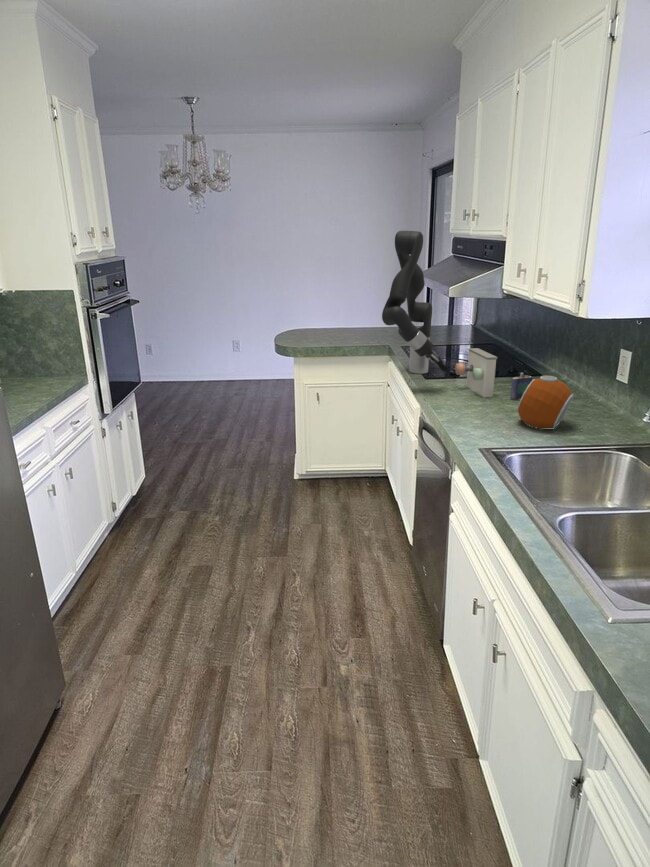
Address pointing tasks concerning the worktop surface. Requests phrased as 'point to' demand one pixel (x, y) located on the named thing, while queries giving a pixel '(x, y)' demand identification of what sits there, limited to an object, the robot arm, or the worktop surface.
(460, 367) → the terracotta button
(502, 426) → the worktop surface
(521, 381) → the flask
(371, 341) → the worktop surface
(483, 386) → the panel
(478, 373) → the sage button
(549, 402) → the alarm clock
